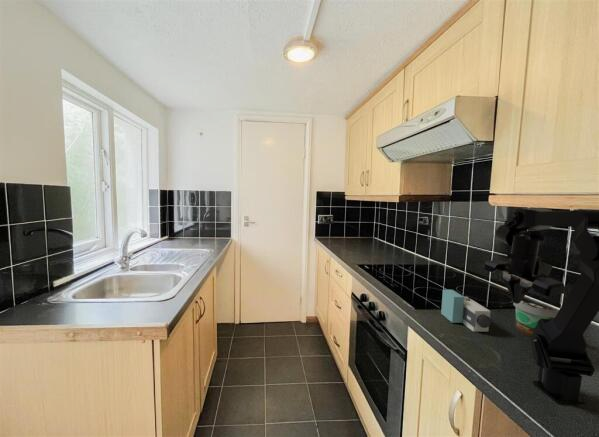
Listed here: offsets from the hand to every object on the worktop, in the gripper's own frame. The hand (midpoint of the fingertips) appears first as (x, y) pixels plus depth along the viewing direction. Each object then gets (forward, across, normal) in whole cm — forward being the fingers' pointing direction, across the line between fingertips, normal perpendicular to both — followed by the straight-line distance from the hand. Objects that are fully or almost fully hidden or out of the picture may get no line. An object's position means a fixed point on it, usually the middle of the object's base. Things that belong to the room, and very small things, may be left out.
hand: (516, 303), depth 79 cm
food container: (+15, +3, -12) cm, 19 cm away
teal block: (+15, +17, +6) cm, 23 cm away
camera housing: (+15, +13, +2) cm, 20 cm away
